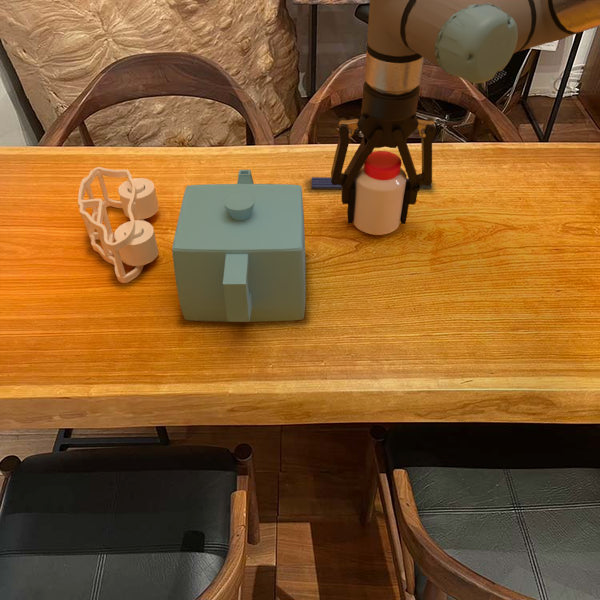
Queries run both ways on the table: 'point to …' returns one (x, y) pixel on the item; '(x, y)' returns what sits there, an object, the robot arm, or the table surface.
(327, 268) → the table surface
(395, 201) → the pill bottle
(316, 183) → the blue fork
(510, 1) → the robot arm
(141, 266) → the wheeled car silhouette
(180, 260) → the container
